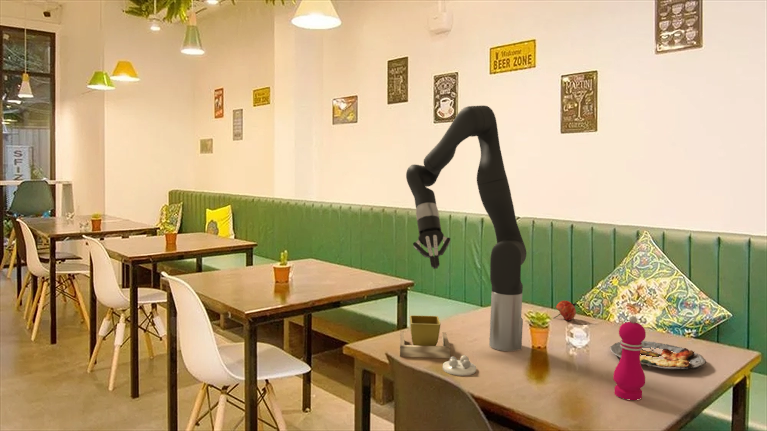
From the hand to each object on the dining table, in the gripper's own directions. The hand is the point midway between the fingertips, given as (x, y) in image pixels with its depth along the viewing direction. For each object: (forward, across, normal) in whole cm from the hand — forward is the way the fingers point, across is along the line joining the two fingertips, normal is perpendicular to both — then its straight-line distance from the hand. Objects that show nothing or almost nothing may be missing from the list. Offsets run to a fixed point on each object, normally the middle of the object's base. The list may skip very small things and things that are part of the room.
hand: (435, 267), depth 186 cm
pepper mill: (+48, +41, -26) cm, 68 cm away
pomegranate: (+16, +45, +35) cm, 59 cm away
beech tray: (+26, -7, -4) cm, 27 cm away
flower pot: (+26, -8, -3) cm, 27 cm away
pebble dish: (+35, +2, -18) cm, 39 cm away
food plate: (+38, +60, 0) cm, 70 cm away
